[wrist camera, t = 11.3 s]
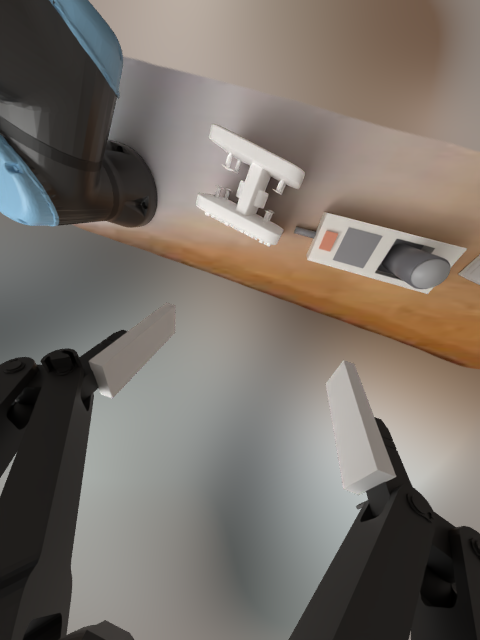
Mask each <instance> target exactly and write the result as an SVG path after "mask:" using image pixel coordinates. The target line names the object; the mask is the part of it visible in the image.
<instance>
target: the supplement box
mask: <svg viewBox="0 0 480 640" xmlns="http://www.w3.org/2000/svg"><path fill="white" fill-rule="evenodd" d="M458 275H460V276H462V277H464V278H466V279H468V280H470V281H472V282H474V283H477V284H479V285H480V255H479V256H478V257H476V258H475V259H474V260H473V261H472V262H471V263H470V264H469V265H468V266H466V267H465V268H464V269H463V270H462V271H461V272H460V273H459V274H458Z"/></svg>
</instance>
